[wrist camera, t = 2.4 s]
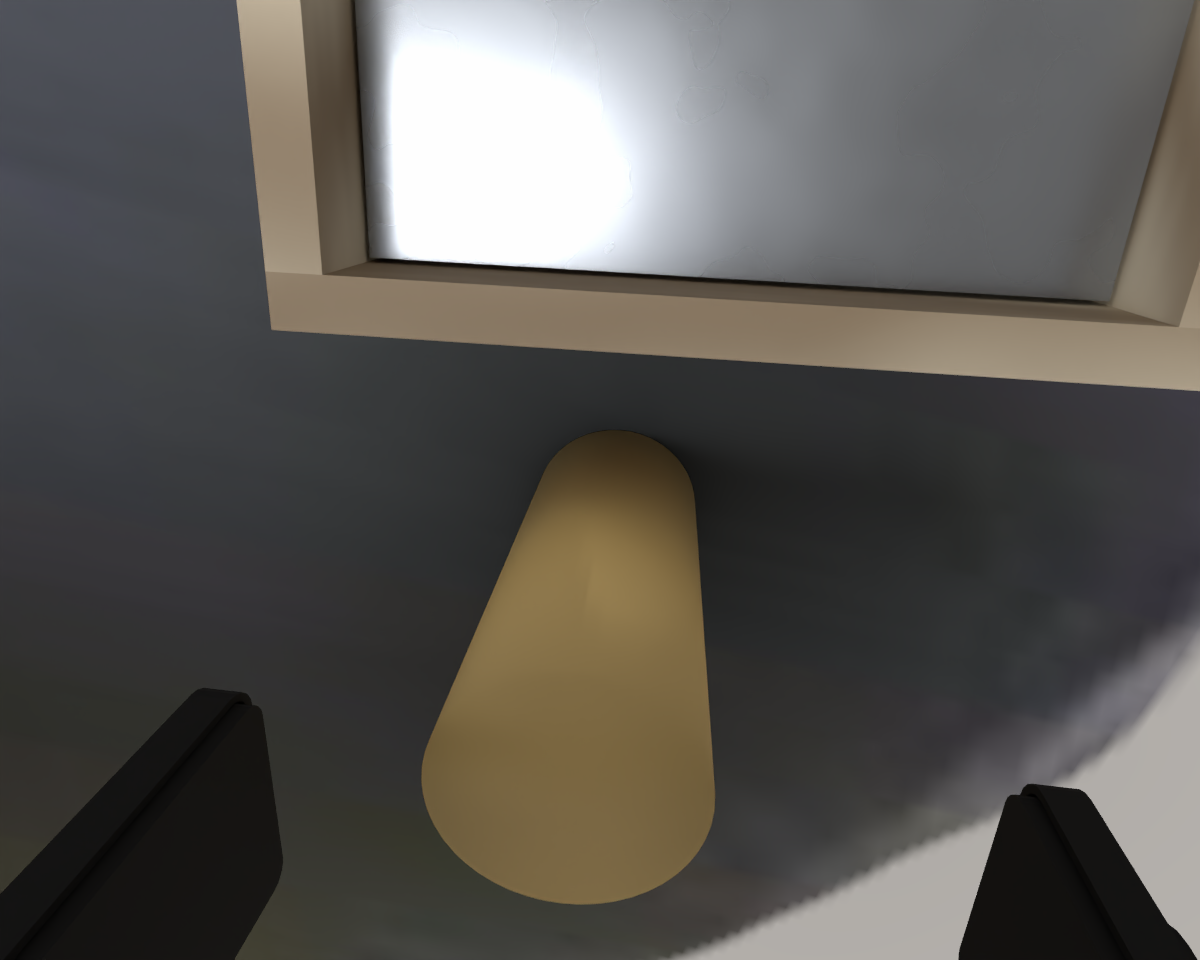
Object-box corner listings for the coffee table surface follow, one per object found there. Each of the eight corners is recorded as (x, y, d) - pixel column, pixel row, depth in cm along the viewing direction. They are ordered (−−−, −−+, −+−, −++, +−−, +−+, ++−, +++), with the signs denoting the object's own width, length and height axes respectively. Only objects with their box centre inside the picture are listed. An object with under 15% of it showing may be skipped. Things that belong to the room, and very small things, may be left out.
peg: (687, 581, 21) (700, 918, 11) (536, 568, 21) (426, 888, 12) (702, 435, 19) (730, 686, 10) (538, 424, 19) (415, 657, 10)
